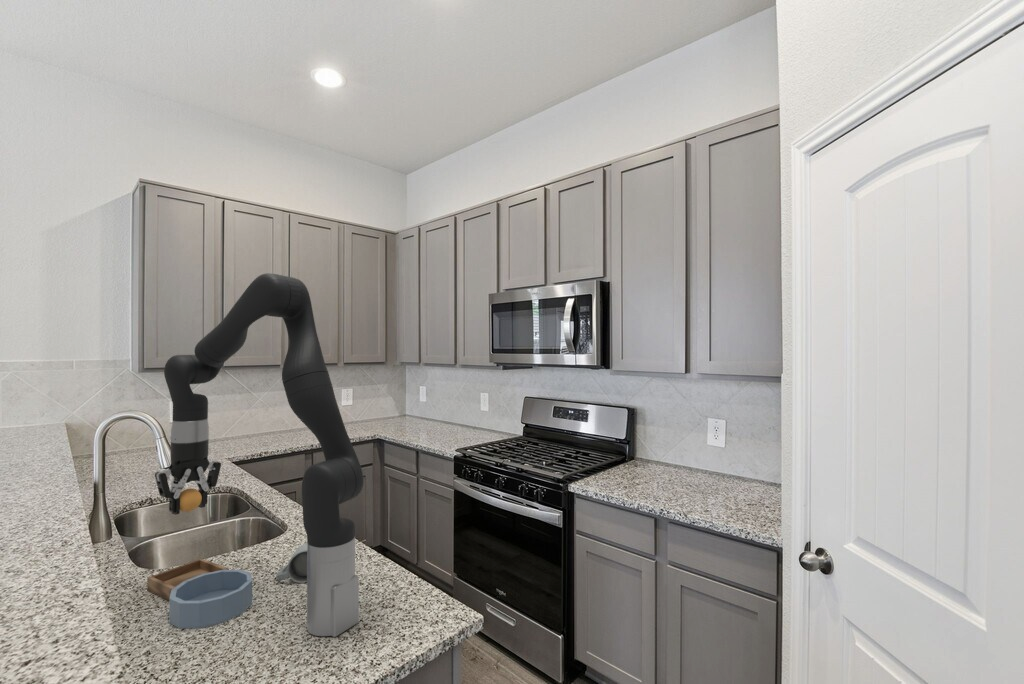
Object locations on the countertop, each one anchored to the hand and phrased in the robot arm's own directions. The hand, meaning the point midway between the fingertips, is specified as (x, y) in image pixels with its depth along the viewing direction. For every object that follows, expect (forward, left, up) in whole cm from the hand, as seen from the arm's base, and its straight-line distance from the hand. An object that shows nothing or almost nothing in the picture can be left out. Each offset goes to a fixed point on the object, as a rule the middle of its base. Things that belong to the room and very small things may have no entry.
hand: (188, 509), depth 115 cm
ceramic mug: (-19, -16, -18) cm, 31 cm away
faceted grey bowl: (-15, +3, -18) cm, 24 cm away
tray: (0, 0, -18) cm, 18 cm away
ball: (0, 0, +2) cm, 2 cm away
